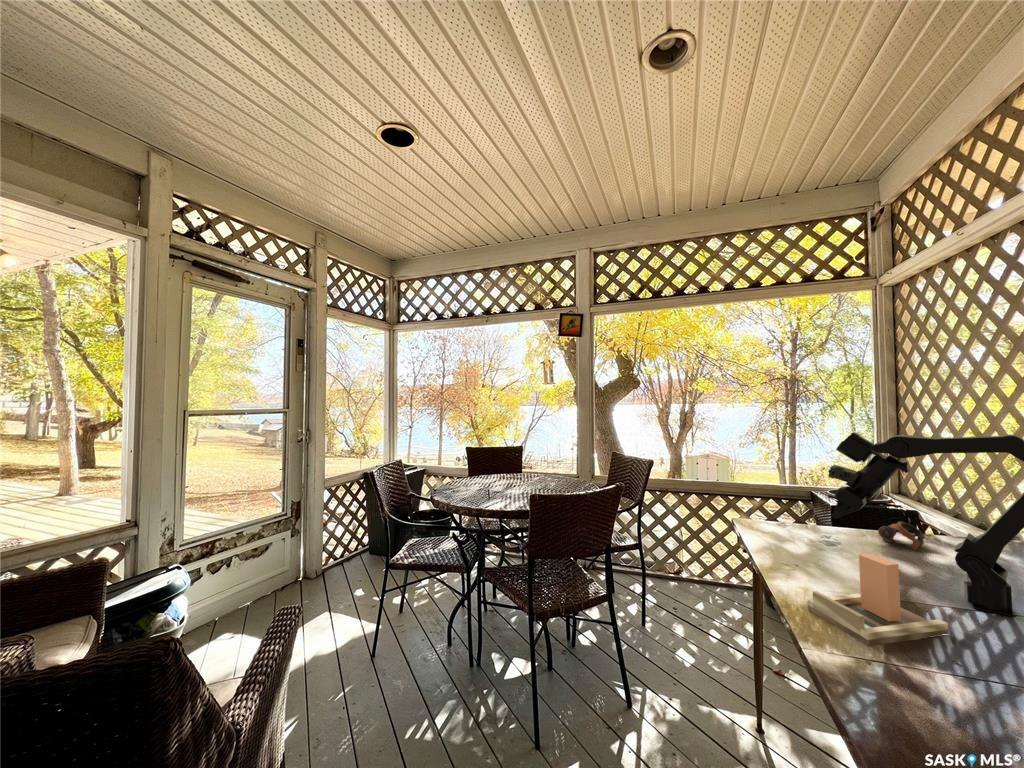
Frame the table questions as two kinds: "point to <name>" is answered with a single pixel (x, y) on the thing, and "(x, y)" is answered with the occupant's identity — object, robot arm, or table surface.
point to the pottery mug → (890, 532)
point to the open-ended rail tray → (872, 620)
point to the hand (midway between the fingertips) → (838, 514)
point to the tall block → (880, 587)
